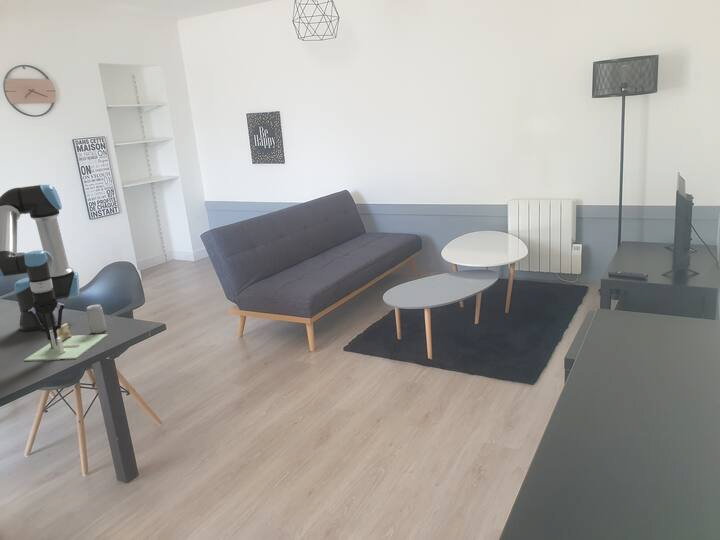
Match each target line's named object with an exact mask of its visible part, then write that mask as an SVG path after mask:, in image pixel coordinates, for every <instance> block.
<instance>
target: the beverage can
mask: <svg viewBox="0 0 720 540" xmlns="http://www.w3.org/2000/svg"><path fill="white" fill-rule="evenodd" d="M85 312H86V316H87V320H88V325H89V329H90V332H91V334H93V335H99V334H103V333H104V332H105V331H107V324H106V320H105V315H104V310H103V307H102V306H101V304H100V303H99V304H91V305H89V306H86V311H85Z"/></svg>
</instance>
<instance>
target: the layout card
mask: <svg viewBox="0 0 720 540" xmlns="http://www.w3.org/2000/svg"><path fill="white" fill-rule="evenodd" d="M71 336H72V337H71V338H66V339H65V340H63V341H62V344H63V348H64V350H66V352H63V353H59V352H60V351H58V350H57V349H55V348H51V344H50V342H49V343H47V344H45V346H43V347H42V348H40V349H38V350H37V351H35V352H34V353H33V354H31V355H28V357H26V358H25V359H23V360H24V362H34V361H36V362H38V361H41V362H42V361H59V360H60V359H65V360H77V359H79V358H80V357H81V356H82V355H84V354H85V353H87V352H88V351H90V350H91V349H92V348H94V347H95V346H96V345H97V344H98V343H100V342H101V341H103V340H104V339H106V338H107V337H108V336H109V334H108V333H106V334H104V333H99V334H82V335H79V334H77V335H71ZM60 361H61V360H60Z"/></svg>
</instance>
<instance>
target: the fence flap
mask: <svg viewBox="0 0 720 540" xmlns="http://www.w3.org/2000/svg"><path fill="white" fill-rule="evenodd" d="M55 342H56V347H54V348H55V349H57V350H58V351H60V352H59V353H63V352H66V350H64V348H63V344H62V340H61V338H60V337H58V338H56V339H55Z"/></svg>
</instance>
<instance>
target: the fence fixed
mask: <svg viewBox="0 0 720 540" xmlns="http://www.w3.org/2000/svg"><path fill="white" fill-rule="evenodd" d="M57 336H58V337H60V338H61V340H62V341H63V340H65V339H66V338H71V337H72V336H73V335H72V334H71V331H70V327H69V323H65V322H64V324H61V328H60V329H57ZM49 343H50V344H51V348H53V346H52V341H51V340H49Z"/></svg>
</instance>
